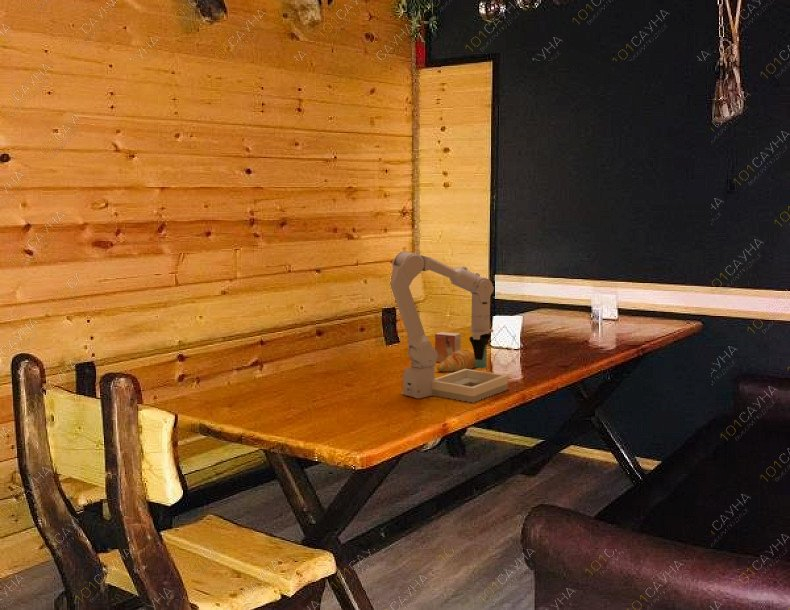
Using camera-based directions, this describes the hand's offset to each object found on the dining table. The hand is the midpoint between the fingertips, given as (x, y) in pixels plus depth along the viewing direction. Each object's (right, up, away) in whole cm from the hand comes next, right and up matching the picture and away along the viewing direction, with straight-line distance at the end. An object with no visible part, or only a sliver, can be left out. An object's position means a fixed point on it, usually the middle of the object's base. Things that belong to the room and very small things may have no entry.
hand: (480, 358), depth 259 cm
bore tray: (-4, -10, -3) cm, 12 cm away
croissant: (-4, -6, +29) cm, 30 cm away
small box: (-8, -4, +40) cm, 41 cm away
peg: (0, -3, 0) cm, 3 cm away
